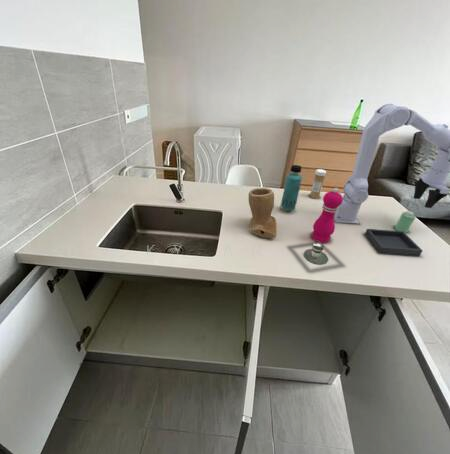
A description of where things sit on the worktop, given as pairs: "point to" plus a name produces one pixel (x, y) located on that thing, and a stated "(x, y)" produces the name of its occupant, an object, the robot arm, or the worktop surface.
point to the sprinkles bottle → (317, 183)
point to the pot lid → (316, 254)
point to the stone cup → (262, 212)
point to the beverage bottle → (291, 188)
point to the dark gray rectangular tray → (392, 242)
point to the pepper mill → (327, 216)
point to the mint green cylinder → (405, 221)
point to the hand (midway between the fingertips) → (422, 202)
